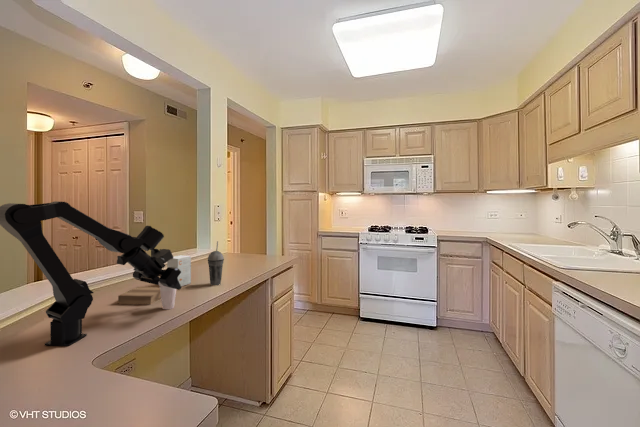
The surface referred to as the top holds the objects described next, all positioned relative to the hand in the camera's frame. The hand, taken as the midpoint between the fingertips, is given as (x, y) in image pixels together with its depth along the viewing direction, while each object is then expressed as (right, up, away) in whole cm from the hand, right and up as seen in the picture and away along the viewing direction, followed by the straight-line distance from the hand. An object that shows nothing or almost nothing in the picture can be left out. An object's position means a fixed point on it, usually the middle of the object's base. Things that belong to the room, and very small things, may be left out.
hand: (171, 286), depth 110 cm
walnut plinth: (-15, -7, +8) cm, 18 cm away
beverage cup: (+5, -7, +31) cm, 32 cm away
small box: (-11, -6, +29) cm, 32 cm away
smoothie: (-1, -8, -1) cm, 8 cm away
